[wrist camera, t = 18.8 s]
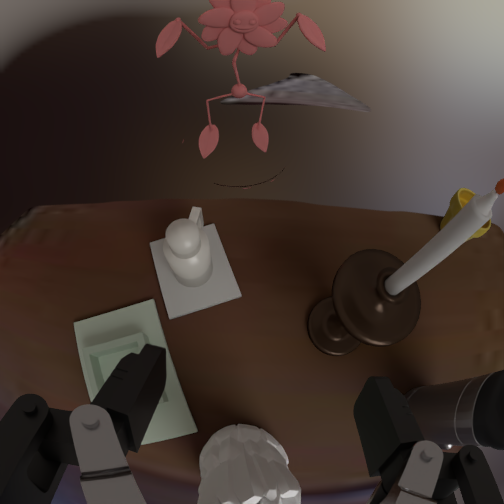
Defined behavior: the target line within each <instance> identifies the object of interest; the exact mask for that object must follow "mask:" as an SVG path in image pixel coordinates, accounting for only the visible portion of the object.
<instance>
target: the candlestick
mask: <svg viewBox="0 0 504 504" xmlns="http://www.w3.org/2000/svg"><path fill="white" fill-rule="evenodd" d="M495 190H496V191H493V190H492V191H491V192H490V193H489V194H487V195H485V196H483V197H482V196H480V195H477V194H476V195H474V196H473V198H472V199H471V200H470V201H469V202H468V203H467V204H466V205H465V206H464V207H463V208H462V209H461V210H460V211H459V212H458V214H457V215H456V216H455V217H454V218H453V219H452V220H451V221H450V222H449V223H448V224H447V225H446V226H445V227H444V228H443V229H442V230H441V231H440V232H439V233H438V234H437V235H435V236H434V237H433V238H432V239H431V240H430V241H429V242H428V243H427V244H426V245H425V246H424V247H423V248H422V249H421V250H420V251H418V252H417V253H416V254H415V255H414V256H413V257H412V258H411V259H410V260H408V261H407V262H406V263H405V264H404V263H403V262H402V261H401V260H399V259H398V258H397V257H395V256H393V255H392V254H390V253H388V252H385V251H382V250H376V249H366V250H362V251H358V252H356V253H354V254H353V255H351V256H350V257H349V258H348V259H347V260H345V261H344V263H343V264H342V265H341V267H340V268H339V270H338V271H337V273H336V275H335V278H334V280H333V286H332V297H329V298H326V299H324V300H322V301H320V302H319V303H318V304H317V305H316V306H315V307H314V308H313V310H312V311H311V313H310V315H309V318H308V325H307V328H308V334H309V337H310V339H311V341H312V343H313V344H314V345H315V347H316V348H317V349H319V350H320V351H321V352H323V353H325V354H327V355H332V356H341V355H345V354H347V353H350V352H352V351H353V350H354V349H356V348H357V347H358V346H359V345H360V343H361V342H362V343H364V344H366V345H370V346H375V347H384V346H388V345H392V344H394V343H397V342H399V341H401V340H403V339H404V338H405V337H407V336H408V335H409V334H410V333H411V331H412V330H413V329H414V327H415V326H416V323H417V321H418V319H419V314H420V309H421V299H420V292H419V288H418V285H417V282H416V280H417V279H419V278H420V277H421V276H423V275H424V274H425V273H427V272H428V271H429V270H431V269H432V268H433V267H434V266H436V265H437V264H438V263H440V262H441V261H442V260H443V259H445V258H446V257H447V256H448V255H449V254H451V253H452V252H453V251H454V250H456V249H457V248H458V247H459V246H460V245H461V244H463V243H464V242H465V241H466V240H467V239H468V238H470V237H471V236H472V235H473V234H474V233H475V232H476V231H477V230H478V229H480V228H481V227H482V226H483V225H484V224H485V223H486V222H487V221H488V220H489V219H490V218H491V217H492V210H491V207H492V206H493V203H494V201H495V200H496V199H497V197H498V195H497V193H498V194H502V193H503V192H504V179H501V180H500V181H499V182H498V183H497V185H496V187H495Z"/></svg>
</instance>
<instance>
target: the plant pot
mask: <svg viewBox="0 0 504 504" xmlns="http://www.w3.org/2000/svg"><path fill="white" fill-rule="evenodd" d="M474 195H476V194H475V193H473V192H472V191H470V190H469V189H466V188H460V189H459V190H458V191H457V192H456V193H455V195H454V196H453V197H452V198H451V201H450V206H449V208H448V210H447V212H446V214H445V216H444V218H443V219H442V221H441V224H440V229H441V230H442V229H443V228H444V227H445V226H446V225H447V224H448V223H449V222H450V221H451V220H452V219H453V218H454V217H455V216H456V215H457V214H458V212H459V211H460V210H461V209H462V208H463V207H464V206H465V205H466V204H467V203H468V202H469V201H470V200H471V199H472V198H473V196H474ZM490 226H491V218H490V219H489V220H488V221H487V222H486V223H485V224H484V225H483V226H482V227H481V228H480V229H478V230H477V231H476V232H475V233H474V234H473V235H472V236H471V237H470V238H468V239H467V240H469V239H471V238H473V237H475V238H478V237H480V236H482V235H483V234H484V233H485V232H486V231H488V230H489V228H490ZM467 240H466V241H467Z"/></svg>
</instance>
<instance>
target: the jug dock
mask: <svg viewBox="0 0 504 504" xmlns="http://www.w3.org/2000/svg"><path fill="white" fill-rule="evenodd" d="M74 329H75V335H76V340H77V346H78V351H79V356H80V360H81V365H82V369H83V373H84V378H85V382H86V385H87V389H88V393H89V396H90V400H91V402H92V401H93V399H94V398H95V396H96V395H97V393H98V392H99V390H100V389H101V387H102V386H103V384H104V383H105V382H106V380H107V379H108V377H109V376H110V374H111V373H112V371H113V370H114V369H115V367H116V365H117V364H118V363H119V361H120V360H121V358H123V357H125V356H126V355H128V354H129V353H131V352H132V353H136V354H139V353H140V352H141V350H142V348H143V347H144V345H145V344H147V343H148V344H152V345H156V346H160V347H164V348H165V349H166V373H167V378H166V385H165V389H164V391H163V394H162V396H161V398H160V401H159V403H158V405H157V408H156V410H155V412H154V415H153V417H152V419H151V422H150V424H149V426H148V429H147V431H146V433H145V436H144V438H143V441H142V443H141V445H143V444H148V443H153V442H158V441H163V440H167V439H171V438H176V437H180V436H184V435H188V434H191V433H195V432H198V429H197V427H196V424H195V422H194V420H193V417H192V414H191V412H190V409H189V407H188V404H187V402H186V399H185V396H184V393H183V391H182V388H181V385H180V382H179V380H178V377H177V374H176V371H175V368H174V365H173V362H172V359H171V356H170V353H169V349H168V346H167V343H166V340H165V336H164V333H163V330H162V326H161V323H160V319H159V315H158V312H157V308H156V304H155V301H154V299H151V300H148V301H145V302H142V303H138V304H135V305H132V306H128V307H125V308H122V309H118V310H115V311H112V312H109V313H105V314H102V315H98V316H95V317H92V318H88V319H85V320H82V321H78V322H75V323H74Z"/></svg>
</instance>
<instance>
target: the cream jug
mask: <svg viewBox="0 0 504 504" xmlns="http://www.w3.org/2000/svg"><path fill="white" fill-rule="evenodd" d="M203 225H204V222H203V216H202V209H201V208H198V207H193V208H192V210H191V213H190V216H189V219H178V220H175V221H174V222H172V223H171V224H170V225H169V226H168V228H167V230H166V238H165V240H164V243H163V252H164V255H165V257H166V259H167V261H168V263H169V265H170V267H171V269H172V271H173V273H174V275H175V277H176V279H177V281H178V282H179V283H180V284H182V285H184V286H186V287H199V286H201V285H203V284H205V283H206V282H207V281H208V280H209V279H210V277H211V275H212V272H213V264H212V258H211V252H210V246H209V240H208V237H207V235H206V233H205V232H204V231H203V230H202V228H203Z"/></svg>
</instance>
